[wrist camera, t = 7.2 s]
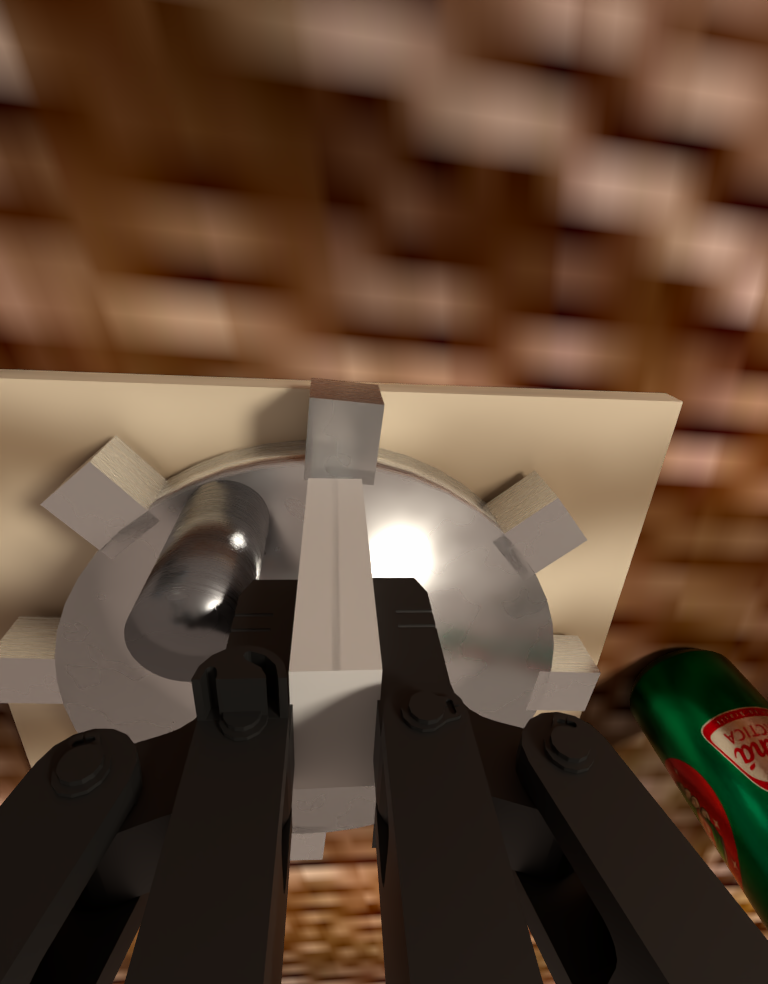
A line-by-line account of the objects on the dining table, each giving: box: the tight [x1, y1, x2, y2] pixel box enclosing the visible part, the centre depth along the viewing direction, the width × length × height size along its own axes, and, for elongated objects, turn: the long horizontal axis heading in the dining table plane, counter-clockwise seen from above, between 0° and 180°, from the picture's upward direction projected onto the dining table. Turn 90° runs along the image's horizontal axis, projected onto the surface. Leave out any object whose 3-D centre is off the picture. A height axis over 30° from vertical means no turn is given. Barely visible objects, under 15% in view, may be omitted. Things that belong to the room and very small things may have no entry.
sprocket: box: [0, 378, 600, 860], centre depth 17 cm, size 21×21×7 cm
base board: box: [0, 369, 683, 768], centre depth 21 cm, size 20×24×1 cm
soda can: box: [630, 649, 768, 930], centre depth 20 cm, size 5×5×12 cm
